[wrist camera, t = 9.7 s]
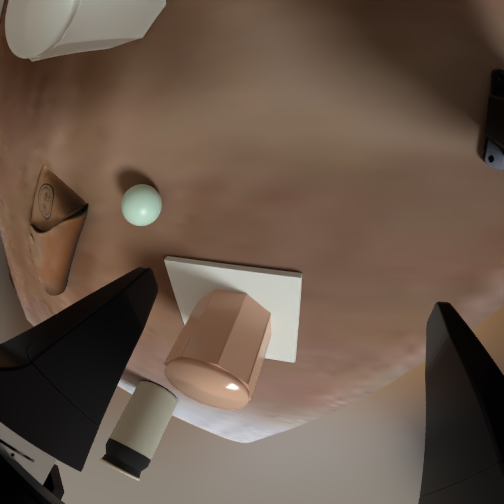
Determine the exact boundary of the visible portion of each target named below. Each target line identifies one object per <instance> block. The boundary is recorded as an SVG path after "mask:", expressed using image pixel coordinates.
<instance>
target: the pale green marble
mask: <svg viewBox="0 0 504 504" xmlns="http://www.w3.org/2000/svg"><path fill="white" fill-rule="evenodd" d="M161 208H162V201H161V197H160V195H159V193H158V192H157V191H156V190H155V189H154V188H153V187H151V186H149V185H146V184H138V185H135V186H133V187H131V188H130V189H128V190H127V191H126V193H125V194H124V196H123V198H122V202H121V210H122V213H123V215H124V217H125V218H126V220H127V221H128V222H130V223H131V224H133V225H137V226H145V225H148V224H150V223H152V222H153V221H155V220H156V219H157V217H158V216H159V214H160V212H161Z"/></svg>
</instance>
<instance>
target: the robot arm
mask: <svg viewBox="0 0 504 504" xmlns="http://www.w3.org/2000/svg"><path fill="white" fill-rule="evenodd" d="M498 74H500V75H501V79H500V80H499V79H498ZM485 134H486V139H485V146H484V151H483V161H484V162H485V163H486V164H487V165H488V166H491V167H495V168H498V169H502V170H504V71H503V70H501V69H494V70H493V71H492V80H491V95H490V96H489V100H488V111H487V120H486V128H485ZM490 155H491V156H492V158H491V160H490V161H488V157H489V156H490ZM157 293H158V284H157V281H156V279H155V276H154V273H153V271H152V269H151V268H148V267H138V268H136V269H135V270H133V271H131V272H129V273H127V274H125V275H124V276H122V277H120V278H118V279H116V280H115V281H113V282H111V283H109V284H107V285H106V286H104V287H102V288H100V289H99V290H97V291H95V292H93V293H92V294H90V295H88V296H86V297H85V298H83V299H81V300H79V301H78V302H76V303H74V304H72V305H71V306H69V307H67V308H66V309H64V310H62V311H61V312H59V313H58V314H55V315H54V316H52V317H50V318H49V319H47V320H45V321H43V322H42V323H40V324H38V325H36V326H35V327H33V328H31V329H29V330H27V331H25V332H23V333H21V334H19V335H17V336H15V337H14V338H12V339H10V340H8V341H6V342H4V343H2V344H0V504H65V503H64V502H62V501H61V498H62V496H63V494H64V489H63V485H62V481H61V477H60V473H59V469H58V466H57V465H55V461H56V460H59V461H61V462H63V463H65V464H66V465H69V466H70V467H72V468H74V469H76V470H78V471H80V472H81V471H82V469H83V467H84V464H85V461H86V459H87V456H88V454H89V451H90V449H91V446H92V444H93V441H94V438H95V436H96V434H97V431H98V429H99V425H100V424H101V421H102V419H103V417H104V414H105V412H106V410H107V407H108V405H109V403H110V400H111V398H112V396H113V394H114V391H115V389H116V387H117V385H118V383H119V380H120V378H121V376H122V374H123V372H124V369H125V367H126V365H127V363H128V361H129V359H130V357H131V355H132V353H133V350H134V348H135V346H136V344H137V342H138V340H139V338H140V336H141V334H142V332H143V330H144V327H145V325H146V322H147V319H148V317H149V314H150V312H151V309H152V306H153V304H154V301H155V299H156V296H157ZM425 366H426V367H425V383H426V433H425V453H424V464H423V474H422V483H421V491H420V498H419V503H418V504H504V375H503V374H502V372H501V371H500V369H499V368H498V366H497V365H496V363H495V362H494V361H493V359H492V358H491V356H490V355H489V353H488V352H487V351H486V349H485V348H484V346H483V345H482V344H481V342H480V341H479V340H478V338H477V337H476V336H475V334H474V333H473V332H472V330H471V329H470V328H469V326H468V325H467V324H466V323H465V321H464V320H463V319H462V317H461V316H460V315H459V314H458V312H457V311H456V310H455V309H454V308H453V306H452V305H451V304H450V303H448V302H437V303H436V304H435V306H434V308H433V310H432V313H431V315H430V317H429V319H428V322H427V328H426V365H425Z"/></svg>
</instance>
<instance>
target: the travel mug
mask: <svg viewBox="0 0 504 504" xmlns="http://www.w3.org/2000/svg"><path fill="white" fill-rule="evenodd" d="M177 403H178V401H177V399H176V398H175V396H174V395H173V394H172V393H171V392H169V391H168V390H166V389H165V388H163V387H161V386H159V385H157V384H155V383H152V382H148V381H140V382H139V384H138V386H137V387H136V389H135V391H134V393H133V395H132V397H131V398H130V400H129V402H128V404H127V406H126V408H125V409H124V411H123V413H122V415H121V417H120V419H119V421H118V422H117V424H116V426H115V428H114V430H113V432H112V434H111V436H110V438H109V439H108V441H107V443H106V454H105V455H104V457H103V458H102V459H100V461H102V462H103V463H105V464H107V465H109V466H110V467H112V468H114V469H116V470H118V471H120V472H122V473H123V474H125V475H128V476H129V477H131V478H133V479H136V480H138V481H140V479H139V477H140V473H141V471H142V470H144V469H145V468H147V467H148V465H149V463H150V461H151V459H152V457H153V454H154V452H155V450H156V448H157V446H158V444H159V441H160V439H161V437H162V435H163V433H164V431H165V428H166V426H167V424H168V422H169V420H170V418H171V416H172V413H173V411H174V409H175V407H176V405H177Z"/></svg>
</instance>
